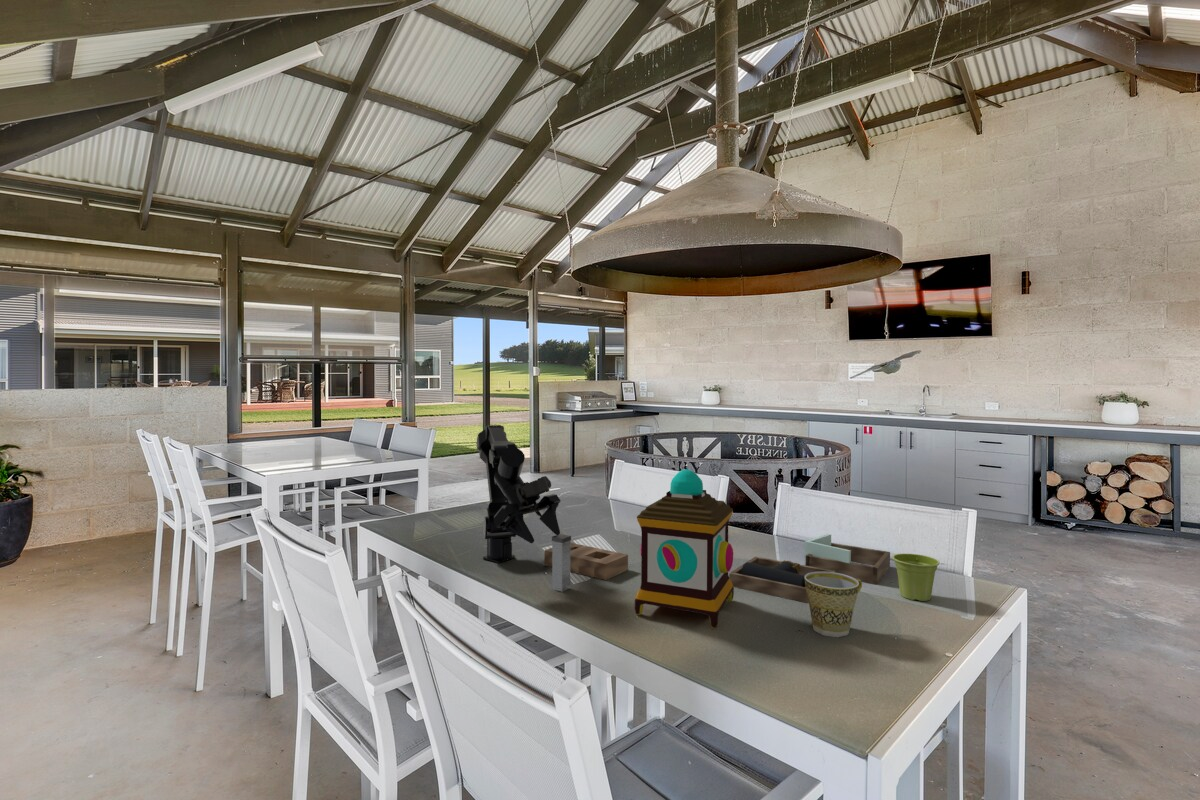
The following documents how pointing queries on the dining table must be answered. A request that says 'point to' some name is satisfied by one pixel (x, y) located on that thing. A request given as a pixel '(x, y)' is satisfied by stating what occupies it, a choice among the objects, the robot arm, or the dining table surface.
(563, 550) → the block
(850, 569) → the brown shallow square box
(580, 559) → the bit block
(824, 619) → the ceramic cup
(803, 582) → the pipe connector
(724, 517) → the decorative lantern
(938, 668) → the dining table surface
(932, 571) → the plant pot
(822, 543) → the l-shaped corner panel
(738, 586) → the wooden tray
